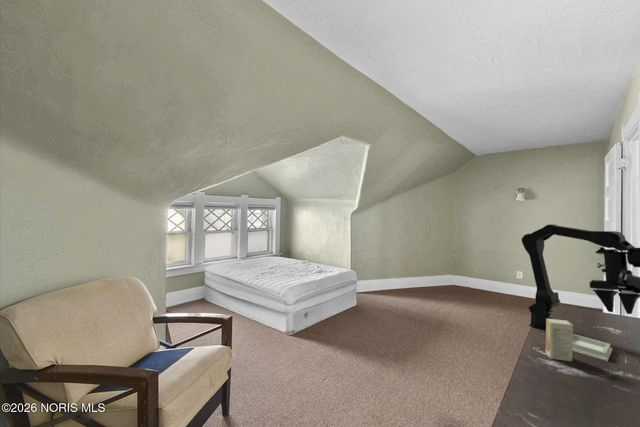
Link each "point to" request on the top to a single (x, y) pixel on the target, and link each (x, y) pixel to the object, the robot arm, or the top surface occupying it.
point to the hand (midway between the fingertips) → (620, 313)
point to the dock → (591, 347)
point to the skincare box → (559, 339)
